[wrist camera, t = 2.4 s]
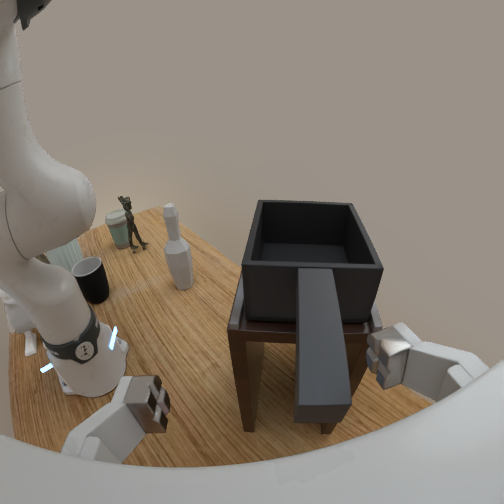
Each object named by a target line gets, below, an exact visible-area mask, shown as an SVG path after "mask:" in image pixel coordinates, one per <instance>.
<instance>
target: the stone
mask: <svg viewBox="0 0 504 504" xmlns="http://www.w3.org/2000/svg"><path fill="white" fill-rule="evenodd" d="M35 258H36V259H38V260H40V261H41V262H43V263H46V264H50V262H49V261H48V259H47V258H46V256H45V255H44V254H41V255H38V256H36V257H35Z"/></svg>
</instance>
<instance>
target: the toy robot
mask: <svg viewBox="0 0 504 504" xmlns="http://www.w3.org/2000/svg"><path fill="white" fill-rule="evenodd" d="M0 297H1V299H2V301H3V302H4V306H5V311H6V314H7V325H8V330H9V331H10V332H11V333H12V334H14V333H15V331H16V332H17V333H18V334H22V333H24V334H25V336H26V342H25V356H26V357H27V356H30V355H32V354H35V353H37V350H36V334H35V333H32V332H31V329H34V328H36V327H35V326H34V324H33V323H32V321H31V320H30V318H29V317H28V316H27V314H26V313H25V311H24V310H23V309H22V308H21V306H20V305H19V304H18V303H17V302H16V301H15V300H14V299H13V298H12V297H10V296H9V295H8V294H7V293H5V292H4V291H3V290H1V289H0ZM43 345H44V348H45V349H47V348H46V346H45V344H44V342H43Z"/></svg>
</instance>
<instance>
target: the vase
mask: <svg viewBox="0 0 504 504" xmlns="http://www.w3.org/2000/svg"><path fill="white" fill-rule="evenodd" d="M46 255H47V257H48V260H49V262H50V264H51V265H57V266H61V267H63V268H65V269H66V270H68V271H69V272H70V273H71V274H72V268H73V267H74V265H75V264H76V263H78V262H79V261H81V260H82V259H84V258H83V255H82V252H81V249H80V247H79V244H78V241H77V238H75V239H74V240H72V241H71V242H69V243H67V244H66V245H64V246H61V247H58V248H56V249H53V250H51V251H48V252H46Z"/></svg>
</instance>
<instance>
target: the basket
mask: <svg viewBox="0 0 504 504" xmlns="http://www.w3.org/2000/svg"><path fill="white" fill-rule="evenodd" d="M241 265H242V279H243V294H244V307H245V320H259V321H279V322H296V366H295V399H294V423H334V422H341V421H342V419H343V418H344V416H345V415H346V413H347V411H348V410H349V408H350V406H351V405H352V399H351V389H350V380H349V371H348V363H347V355H346V348H345V341H344V334H343V328H342V323H367V322H368V319H369V316H370V313H371V310H372V307H373V304H374V301H375V297H376V294H377V291H378V287H379V284H380V280H381V277H382V273H383V270H384V269H383V266H382V264H381V262H380V259H379V257H378V255H377V253H376V250H375V248H374V247H373V244H372V242H371V240H370V238H369V236H368V234H367V232H366V230H365V228H364V226H363V224H362V222H361V220H360V218H359V216H358V214H357V212H356V210H355V208H354V206H353V204H352V203H351V204H350V203H335V202H314V201H285V200H258V203H257V207H256V211H255V214H254V218H253V222H252V226H251V230H250V234H249V238H248V241H247V245H246V249H245V253H244V257H243V260H242V264H241Z"/></svg>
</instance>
